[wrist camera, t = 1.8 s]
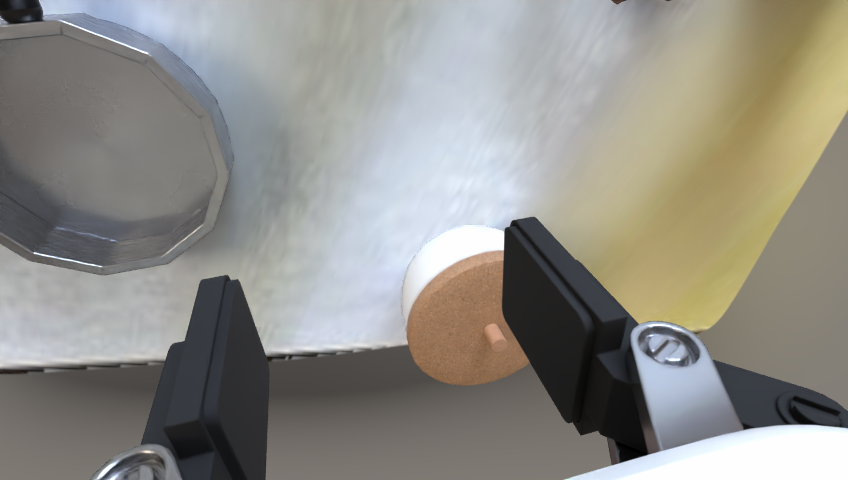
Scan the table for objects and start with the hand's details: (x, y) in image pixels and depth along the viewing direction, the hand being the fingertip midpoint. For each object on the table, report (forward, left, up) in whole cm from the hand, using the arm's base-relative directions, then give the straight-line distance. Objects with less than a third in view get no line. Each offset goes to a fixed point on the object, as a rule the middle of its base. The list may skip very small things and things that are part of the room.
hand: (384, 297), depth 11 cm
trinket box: (+14, +8, -20) cm, 25 cm away
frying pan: (-4, -12, -20) cm, 24 cm away
